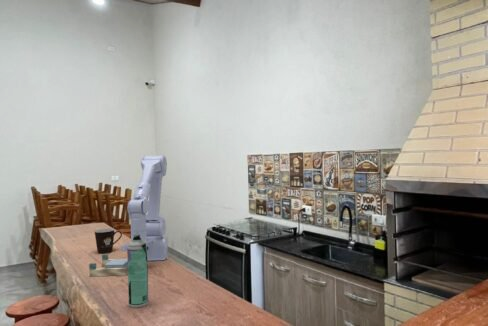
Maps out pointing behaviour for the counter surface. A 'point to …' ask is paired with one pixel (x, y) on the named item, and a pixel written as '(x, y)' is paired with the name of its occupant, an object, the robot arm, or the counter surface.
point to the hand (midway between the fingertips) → (139, 265)
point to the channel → (106, 269)
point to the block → (117, 263)
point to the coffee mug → (105, 240)
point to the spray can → (137, 272)
